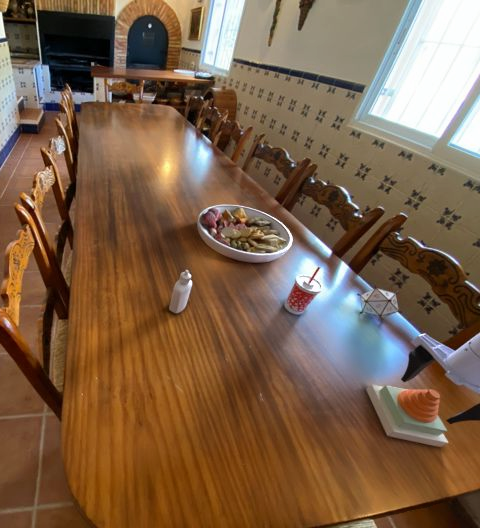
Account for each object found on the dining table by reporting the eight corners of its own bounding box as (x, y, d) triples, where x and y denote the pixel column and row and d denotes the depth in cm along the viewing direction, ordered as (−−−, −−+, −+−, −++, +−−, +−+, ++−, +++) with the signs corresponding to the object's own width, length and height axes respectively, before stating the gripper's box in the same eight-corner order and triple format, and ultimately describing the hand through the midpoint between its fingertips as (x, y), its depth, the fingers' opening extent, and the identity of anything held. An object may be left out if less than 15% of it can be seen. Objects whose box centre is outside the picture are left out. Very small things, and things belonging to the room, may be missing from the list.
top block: (439, 435, 53) (447, 431, 51) (397, 427, 53) (404, 422, 52) (417, 397, 58) (424, 392, 57) (379, 390, 59) (385, 385, 57)
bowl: (276, 223, 110) (285, 204, 105) (295, 275, 87) (307, 255, 82) (195, 211, 113) (200, 192, 108) (194, 258, 91) (199, 237, 86)
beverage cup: (294, 319, 74) (322, 278, 65) (276, 302, 78) (299, 262, 69) (311, 312, 76) (339, 272, 67) (292, 296, 80) (316, 256, 72)
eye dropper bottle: (191, 309, 74) (202, 274, 67) (172, 315, 72) (181, 279, 65) (183, 297, 77) (192, 262, 70) (164, 302, 75) (171, 267, 68)
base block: (440, 447, 53) (449, 443, 52) (387, 436, 54) (394, 431, 53) (412, 398, 60) (419, 393, 59) (365, 389, 61) (371, 384, 59)
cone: (440, 426, 52) (463, 413, 49) (406, 419, 52) (426, 406, 49) (422, 395, 56) (442, 382, 53) (391, 389, 57) (408, 375, 54)
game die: (353, 319, 81) (345, 285, 79) (385, 310, 80) (379, 276, 78) (378, 332, 72) (370, 294, 70) (415, 323, 71) (408, 284, 69)
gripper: (424, 323, 48) (374, 369, 56) (544, 411, 37) (460, 450, 46) (451, 314, 50) (398, 359, 58) (572, 394, 39) (486, 435, 48)
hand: (427, 398), depth 52 cm, fingers open, 7 cm apart
